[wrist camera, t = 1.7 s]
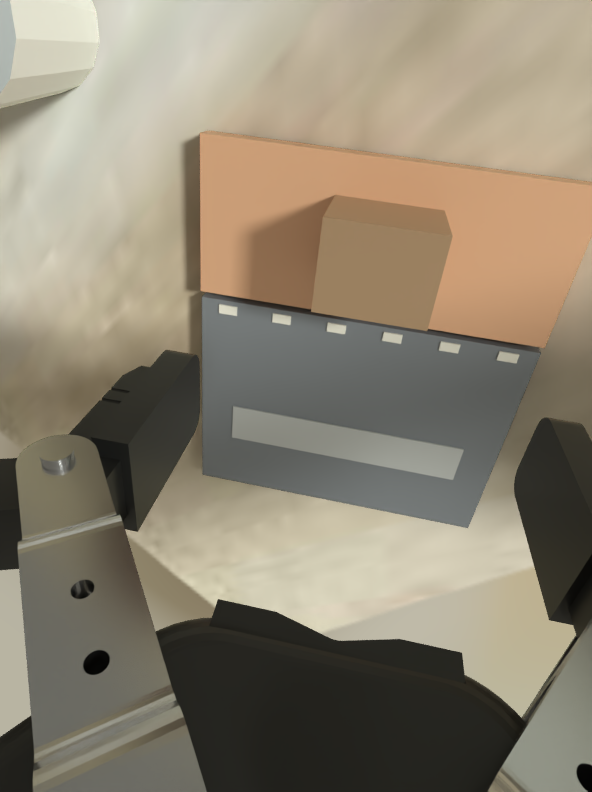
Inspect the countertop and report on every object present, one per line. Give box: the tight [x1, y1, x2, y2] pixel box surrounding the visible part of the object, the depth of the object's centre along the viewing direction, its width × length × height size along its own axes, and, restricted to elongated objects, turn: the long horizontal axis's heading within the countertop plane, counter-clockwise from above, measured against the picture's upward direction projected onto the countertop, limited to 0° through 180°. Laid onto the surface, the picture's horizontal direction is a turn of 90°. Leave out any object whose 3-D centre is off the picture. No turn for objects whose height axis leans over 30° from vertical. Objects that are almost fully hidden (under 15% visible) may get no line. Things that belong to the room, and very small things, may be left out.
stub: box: [200, 131, 592, 348], centre depth 23 cm, size 18×8×6 cm, turn 84°
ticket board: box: [202, 292, 541, 528], centre depth 31 cm, size 18×13×1 cm
